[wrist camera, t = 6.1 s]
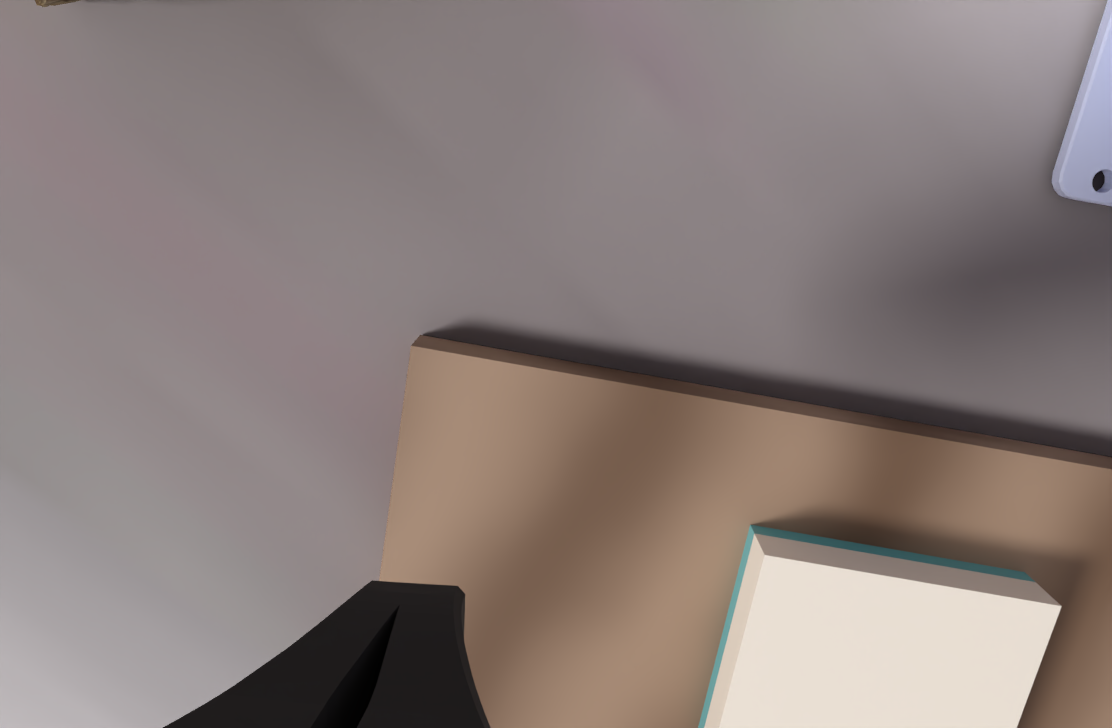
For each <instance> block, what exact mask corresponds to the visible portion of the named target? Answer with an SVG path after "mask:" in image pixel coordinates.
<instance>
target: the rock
mask: <svg viewBox="0 0 1112 728" xmlns="http://www.w3.org/2000/svg"><path fill="white" fill-rule="evenodd" d="M76 1H80V0H35V2H36V4H37V5H40V6H42V7H47V6H49V5H60V4H65V3H71V2H76Z"/></svg>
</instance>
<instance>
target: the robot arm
mask: <svg viewBox="0 0 1112 728" xmlns="http://www.w3.org/2000/svg"><path fill="white" fill-rule="evenodd" d="M1099 171H1102V172H1103V174H1104V176H1105V183H1104V184H1103V186H1102V188H1101V189H1099V190H1098V191H1095V190H1094V188H1093V186H1092V179H1093V177H1094V176H1095V174H1096V173H1097V172H1099ZM1052 185H1053V188H1054V190H1055V191H1056V192H1057V193H1058V195H1059V196H1062V197H1064V198H1067V199H1072V200H1078V201H1083V202H1089V203H1094V204H1099V205H1105V206H1110V207H1112V0H1108V1H1107V4H1106V8H1105V11H1104V14H1103V17H1102V20H1101V23H1100V26H1099V29H1098V33H1097V36H1096V39H1095V42H1094V45H1093V48H1092V51H1091V55H1090V58H1089V61H1088V64H1087V67H1086V70H1085V73H1084V76H1083V80H1082V83H1081V86H1080V89H1079V92H1078V95H1077V98H1076V102H1075V105H1074V108H1073V111H1072V114H1071V117H1070V120H1069V123H1068V127H1067V130H1066V133H1065V136H1064V139H1063V142H1062V145H1061V149H1060V152H1059V155H1058V158H1057V161H1056V164H1055V167H1054V170H1053V175H1052ZM464 623H465V593H464V592H463V591H462V590H461V589H460V588H459V587H458V586H452V585H436V584H419V583H403V582H386V581H371V582H370V583H368V584H367V585H366V586H364V587H363V588H362V589H361V590H359V591H358V592H357V593H356V594H355V595H353V596H352V597H351V598H350V599H348V600H347V601H346V602H345V603H343V604H342V605H341V606H340V607H339V608H337V609H336V610H335V611H334V612H333V613H331V614H330V615H329V616H328V617H326V618H325V619H324V620H323V621H322V622H320V623H319V624H318V625H317V626H315V627H314V628H313V629H311V630H310V631H309V632H308V633H306V634H305V635H304V636H303V637H301V638H300V639H299V640H298V641H296V642H295V643H294V644H292V645H291V646H290V647H288V648H287V649H286V650H284V651H283V652H281V653H280V654H279V655H277V656H276V657H274V658H273V659H271V660H270V661H269V662H267V663H266V664H264V665H263V666H262V667H260V668H259V669H257V670H256V671H254V672H253V673H252V674H250V675H249V676H247V677H246V678H244V679H243V680H242V681H240V682H239V683H237V684H236V685H234V686H233V687H231V688H230V689H228V690H227V691H225V692H223V693H222V694H220V695H219V696H217V697H215V698H214V699H212V700H211V701H209V702H207V703H206V704H204V705H202V706H201V707H199V708H197V709H195V710H194V711H192V712H190V713H188V714H186V715H185V716H183V717H181V718H179V719H178V720H176V721H174V722H172V723H171V724H169V725H167V726H165V727H163V728H491V727H490V725H489V722H488V720H487V717H486V715H485V712H484V710H483V707H482V704H481V701H480V698H479V695H478V693H477V690H476V686H475V683H474V680H473V676H472V673H471V669H470V665H469V661H468V656H467V652H466V648H465V643H464Z"/></svg>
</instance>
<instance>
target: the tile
mask: <svg viewBox="0 0 1112 728" xmlns="http://www.w3.org/2000/svg"><path fill="white" fill-rule="evenodd" d="M1061 607H1062V606H1061V605H1060V604H1059V603H1058V602H1057V601H1055V600H1054V599H1053V598H1052V597H1051V596H1050V595H1049V594H1048V593H1047V592H1046V591H1045V590H1044V589H1043V588H1041V587H1040V586H1039V585H1038V584H1037V583H1036V582H1035V581H1034V580H1033V579H1032V578H1031V577H1030V576H1029V575H1027V574H1026V573H1025V572H1021V571H1015V570H1010V569H1004V568H998V567H992V566H987V565H981V564H975V563H969V562H963V561H958V560H952V559H946V558H940V557H935V556H929V555H923V554H917V553H912V552H906V551H900V550H894V549H888V548H883V547H877V546H871V545H865V544H860V543H854V542H848V541H842V540H837V539H831V538H825V537H819V536H813V535H808V534H802V533H796V532H790V531H785V530H779V529H773V528H767V527H761V526H756V525H750V527H749V531H748V535H747V539H746V543H745V547H744V550H743V554H742V558H741V562H740V566H739V570H738V574H737V578H736V582H735V586H734V590H733V593H732V597H731V601H730V605H729V609H728V613H727V617H726V621H725V625H724V629H723V632H722V636H721V640H720V644H719V648H718V652H717V656H716V660H715V664H714V668H713V671H712V675H711V679H710V683H709V687H708V691H707V695H706V699H705V703H704V707H703V710H702V714H701V718H700V722H699V726H698V728H1017V726H1018V723H1019V720H1020V718H1021V715H1022V712H1023V710H1024V707H1025V704H1026V701H1027V699H1028V696H1029V693H1030V691H1031V688H1032V685H1033V682H1034V680H1035V677H1036V674H1037V672H1038V669H1039V666H1040V664H1041V661H1042V658H1043V655H1044V653H1045V650H1046V647H1047V645H1048V642H1049V639H1050V636H1051V634H1052V631H1053V628H1054V626H1055V623H1056V620H1057V617H1058V615H1059V612H1060V609H1061Z"/></svg>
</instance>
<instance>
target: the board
mask: <svg viewBox="0 0 1112 728" xmlns="http://www.w3.org/2000/svg"><path fill="white" fill-rule="evenodd" d="M750 525H756V526H761V527H767V528H773V529H779V530H785V531H790V532H796V533H802V534H808V535H813V536H819V537H825V538H831V539H837V540H842V541H848V542H854V543H860V544H865V545H871V546H877V547H883V548H888V549H894V550H900V551H906V552H912V553H917V554H923V555H929V556H935V557H940V558H946V559H952V560H958V561H963V562H969V563H975V564H981V565H987V566H992V567H998V568H1004V569H1010V570H1015V571H1021V572H1025V573H1026V574H1027V575H1029V576H1030V577H1031V578H1032V579H1033V580H1034V581H1035V582H1036V583H1037V584H1038V585H1039V586H1040V587H1041V588H1043V589H1044V590H1045V591H1046V592H1047V593H1048V594H1049V595H1050V596H1051V597H1052V598H1053V599H1054V600H1055V601H1057V602H1058V603H1059V604H1060V605H1061V606H1062V607H1061V609H1060V612H1059V615H1058V617H1057V620H1056V623H1055V626H1054V628H1053V631H1052V634H1051V636H1050V639H1049V642H1048V645H1047V647H1046V650H1045V653H1044V655H1043V658H1042V661H1041V664H1040V666H1039V669H1038V672H1037V674H1036V677H1035V680H1034V682H1033V685H1032V688H1031V691H1030V693H1029V696H1028V699H1027V701H1026V704H1025V707H1024V710H1023V712H1022V715H1021V718H1020V720H1019V723H1018V726H1017V728H1112V457H1108V456H1102V455H1096V454H1091V453H1085V452H1079V451H1074V450H1068V449H1062V448H1057V447H1051V446H1045V445H1040V444H1034V443H1028V442H1023V441H1017V440H1011V439H1006V438H1000V437H995V436H989V435H983V434H978V433H972V432H966V431H961V430H955V429H949V428H944V427H938V426H932V425H927V424H921V423H915V422H910V421H904V420H898V419H893V418H887V417H881V416H876V415H870V414H864V413H859V412H853V411H847V410H842V409H836V408H830V407H825V406H819V405H813V404H808V403H802V402H797V401H791V400H785V399H780V398H774V397H768V396H763V395H757V394H751V393H746V392H740V391H734V390H729V389H723V388H717V387H712V386H706V385H700V384H695V383H689V382H683V381H678V380H672V379H666V378H661V377H655V376H649V375H644V374H638V373H632V372H627V371H621V370H616V369H610V368H604V367H599V366H593V365H587V364H582V363H576V362H570V361H565V360H559V359H553V358H548V357H542V356H536V355H531V354H525V353H519V352H514V351H508V350H502V349H497V348H491V347H485V346H480V345H474V344H468V343H463V342H457V341H451V340H446V339H440V338H434V337H429V336H423V335H420V336H419V337H418V338H417V340H416V341H415V342H414V343H413V344H412V345H411V351H410V358H409V365H408V373H407V380H406V387H405V395H404V402H403V409H402V417H401V424H400V432H399V439H398V446H397V454H396V461H395V468H394V476H393V483H392V490H391V498H390V505H389V512H388V520H387V527H386V534H385V542H384V549H383V556H382V564H381V571H380V578H379V581H386V582H403V583H419V584H436V585H452V586H458V587H459V588H460V589H461V590H462V591H463V592H464V593H465V623H464V643H465V648H466V652H467V656H468V661H469V665H470V669H471V673H472V676H473V680H474V683H475V686H476V690H477V693H478V695H479V698H480V701H481V704H482V707H483V710H484V712H485V715H486V717H487V720H488V722H489V725H490V727H491V728H698V726H699V722H700V718H701V714H702V710H703V707H704V703H705V699H706V695H707V691H708V687H709V683H710V679H711V675H712V671H713V668H714V664H715V660H716V656H717V652H718V648H719V644H720V640H721V636H722V632H723V629H724V625H725V621H726V617H727V613H728V609H729V605H730V601H731V597H732V593H733V590H734V586H735V582H736V578H737V574H738V570H739V566H740V562H741V558H742V554H743V550H744V547H745V543H746V539H747V535H748V531H749V527H750Z"/></svg>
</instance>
